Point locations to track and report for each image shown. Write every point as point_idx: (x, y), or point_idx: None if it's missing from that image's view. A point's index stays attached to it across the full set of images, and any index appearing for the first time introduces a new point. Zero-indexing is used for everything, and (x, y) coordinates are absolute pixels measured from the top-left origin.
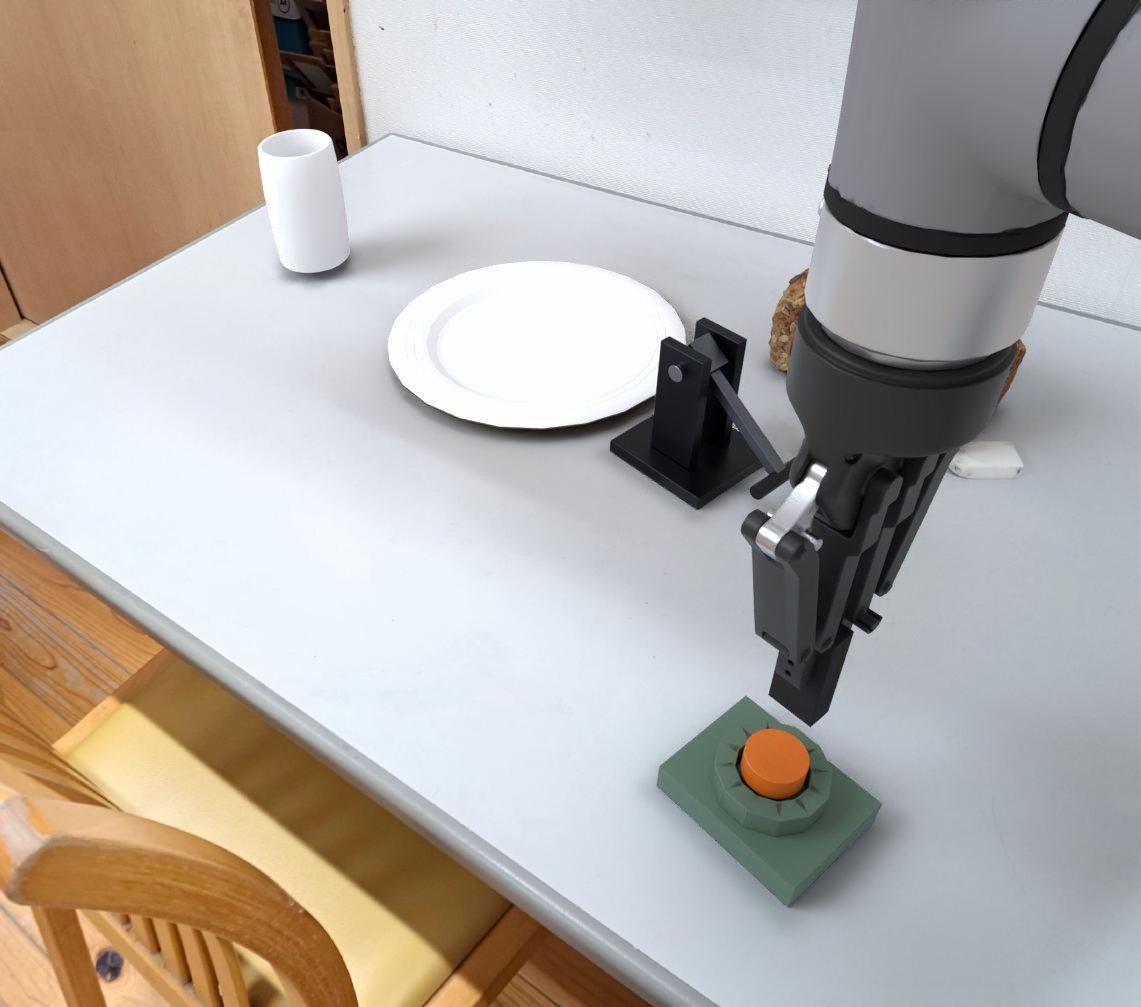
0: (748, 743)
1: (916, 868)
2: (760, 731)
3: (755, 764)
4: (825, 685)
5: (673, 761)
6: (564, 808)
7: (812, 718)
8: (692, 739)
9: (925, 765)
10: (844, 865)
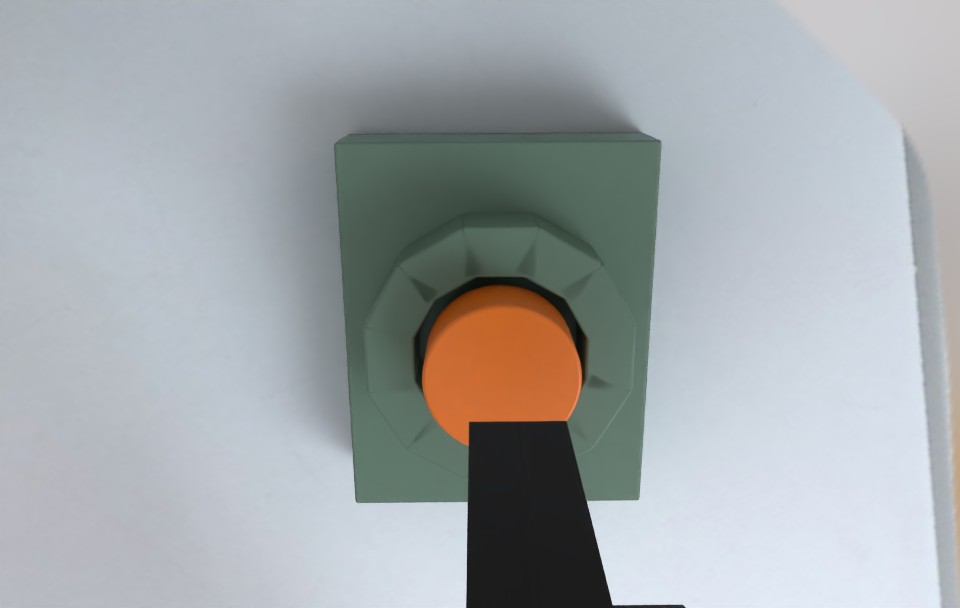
0: None
1: (362, 8)
2: None
3: (563, 397)
4: (578, 557)
5: (607, 490)
6: (789, 531)
7: (570, 446)
8: None
9: (137, 145)
10: (477, 114)
